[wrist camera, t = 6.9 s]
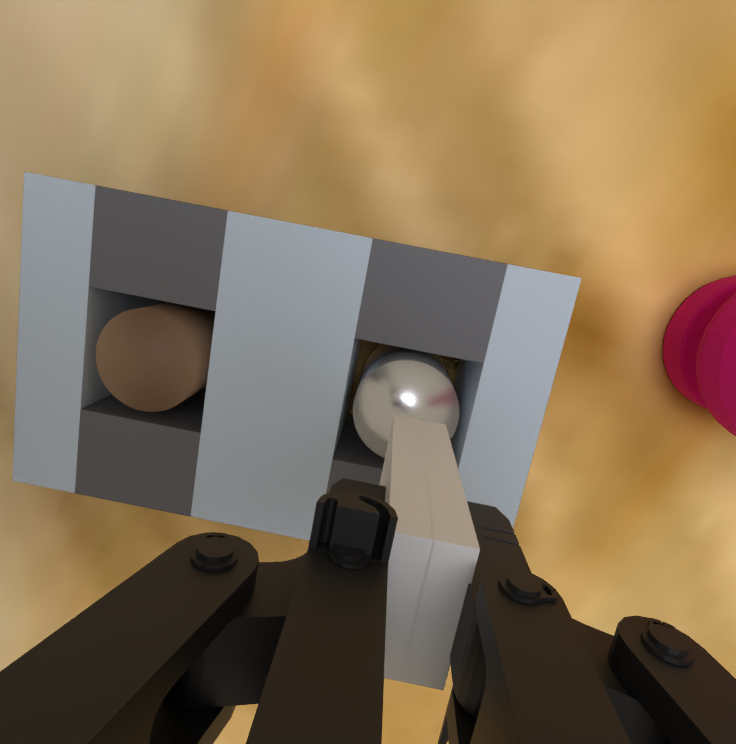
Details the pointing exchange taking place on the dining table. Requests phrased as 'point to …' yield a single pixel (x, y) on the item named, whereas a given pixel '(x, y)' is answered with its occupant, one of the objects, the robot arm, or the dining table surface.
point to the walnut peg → (156, 355)
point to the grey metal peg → (402, 393)
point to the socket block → (263, 355)
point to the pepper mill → (706, 350)
